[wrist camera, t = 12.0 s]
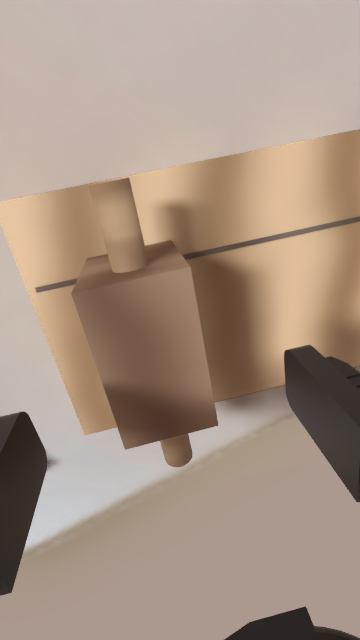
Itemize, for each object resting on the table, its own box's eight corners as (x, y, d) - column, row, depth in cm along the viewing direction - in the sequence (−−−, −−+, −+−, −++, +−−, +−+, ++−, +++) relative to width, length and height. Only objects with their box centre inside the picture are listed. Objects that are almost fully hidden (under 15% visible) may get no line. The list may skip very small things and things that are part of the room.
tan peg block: (157, 171, 14) (173, 169, 10) (203, 405, 20) (226, 474, 15) (65, 190, 14) (37, 196, 9) (137, 422, 19) (141, 497, 15)
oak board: (391, 123, 17) (432, 114, 15) (375, 337, 23) (403, 355, 20) (10, 200, 16) (-9, 203, 14) (89, 408, 21) (84, 435, 19)
